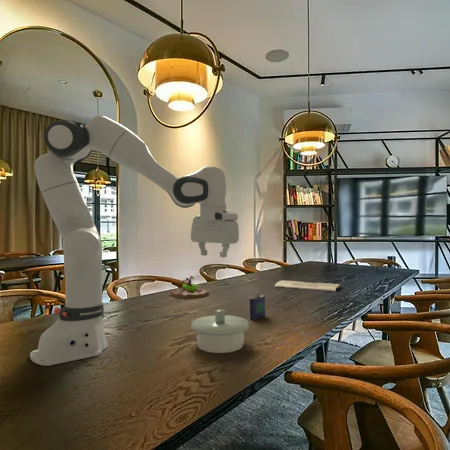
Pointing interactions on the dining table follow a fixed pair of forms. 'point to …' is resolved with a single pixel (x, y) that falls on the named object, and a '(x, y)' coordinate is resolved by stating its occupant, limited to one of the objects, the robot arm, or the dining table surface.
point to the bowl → (220, 342)
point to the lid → (220, 324)
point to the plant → (189, 290)
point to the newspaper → (308, 285)
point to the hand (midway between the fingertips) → (213, 256)
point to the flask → (257, 307)
